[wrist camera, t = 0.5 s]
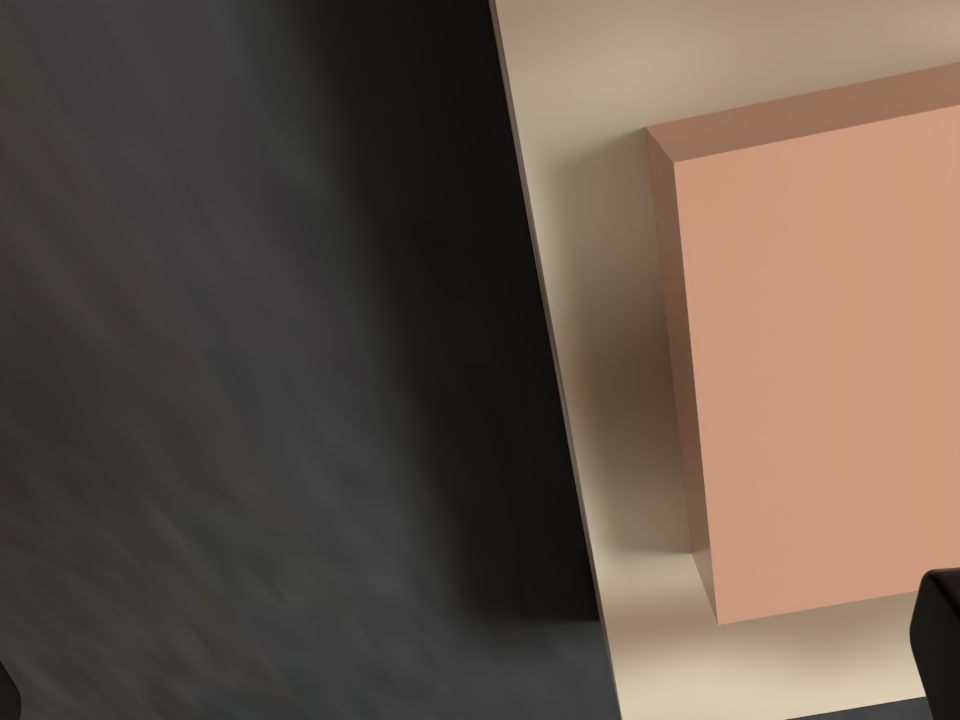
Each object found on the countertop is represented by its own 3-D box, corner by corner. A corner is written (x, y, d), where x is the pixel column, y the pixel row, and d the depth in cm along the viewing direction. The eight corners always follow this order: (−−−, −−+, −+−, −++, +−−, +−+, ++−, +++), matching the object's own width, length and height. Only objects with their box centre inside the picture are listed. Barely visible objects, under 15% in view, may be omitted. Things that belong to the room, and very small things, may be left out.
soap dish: (1044, 544, 24) (1146, 659, 21) (600, 622, 25) (627, 746, 22) (1168, -391, 15) (1391, -468, 11) (448, -226, 16) (450, -251, 12)
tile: (986, 501, 19) (1043, 568, 17) (692, 554, 19) (718, 625, 17) (1026, 48, 14) (1109, 74, 13) (645, 126, 15) (673, 162, 13)
